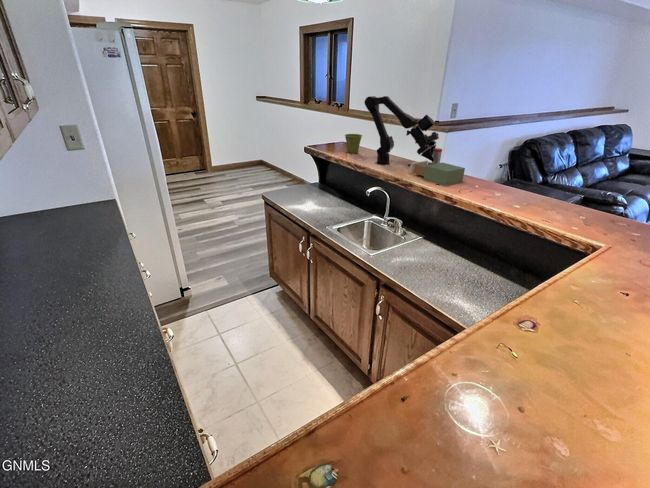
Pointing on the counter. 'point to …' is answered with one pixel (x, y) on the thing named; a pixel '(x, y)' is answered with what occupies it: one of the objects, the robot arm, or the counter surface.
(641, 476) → the counter surface
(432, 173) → the cabinet
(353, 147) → the plant pot
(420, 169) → the drawer
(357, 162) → the counter surface
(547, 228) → the counter surface
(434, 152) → the canister
